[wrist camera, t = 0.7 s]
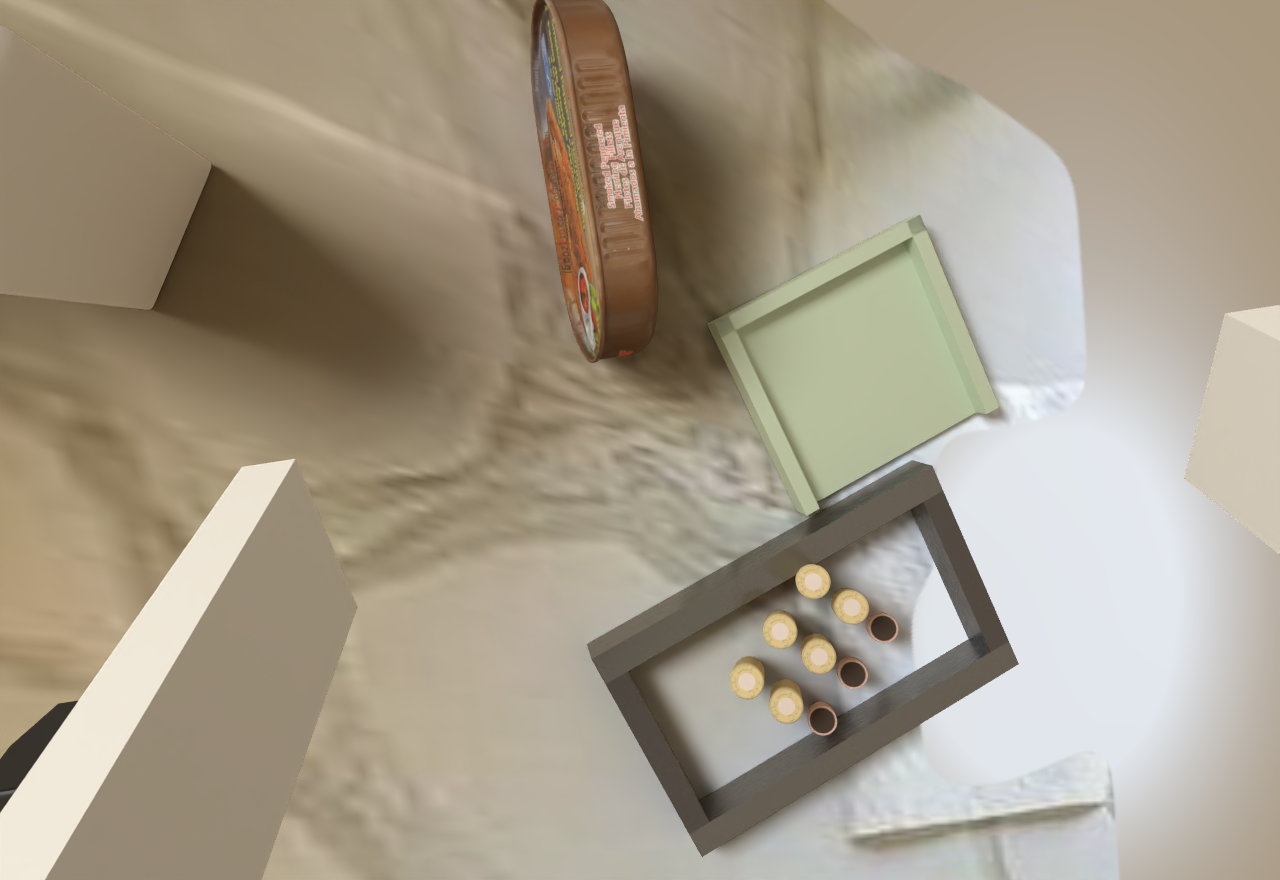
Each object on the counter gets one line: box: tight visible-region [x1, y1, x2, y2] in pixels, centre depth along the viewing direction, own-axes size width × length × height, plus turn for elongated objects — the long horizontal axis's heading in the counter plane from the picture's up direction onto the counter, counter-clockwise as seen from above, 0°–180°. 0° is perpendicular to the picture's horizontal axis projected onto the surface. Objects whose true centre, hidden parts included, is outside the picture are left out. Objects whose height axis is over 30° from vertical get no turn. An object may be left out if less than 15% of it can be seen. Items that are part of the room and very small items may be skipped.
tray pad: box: [707, 215, 999, 516], centre depth 41 cm, size 11×12×1 cm
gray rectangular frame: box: [587, 460, 1018, 857], centre depth 42 cm, size 12×20×2 cm, turn 117°
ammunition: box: [730, 564, 898, 735], centre depth 41 cm, size 5×7×8 cm
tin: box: [531, 0, 658, 363], centre depth 34 cm, size 15×3×8 cm, turn 8°
